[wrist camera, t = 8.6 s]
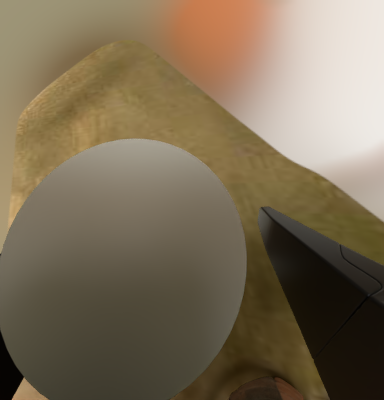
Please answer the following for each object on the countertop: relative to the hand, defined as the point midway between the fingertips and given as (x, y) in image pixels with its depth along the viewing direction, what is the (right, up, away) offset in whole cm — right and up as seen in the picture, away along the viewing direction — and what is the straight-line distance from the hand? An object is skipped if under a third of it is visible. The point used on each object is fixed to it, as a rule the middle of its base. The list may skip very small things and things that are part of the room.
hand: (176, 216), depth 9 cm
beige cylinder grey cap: (+1, -4, +7) cm, 8 cm away
